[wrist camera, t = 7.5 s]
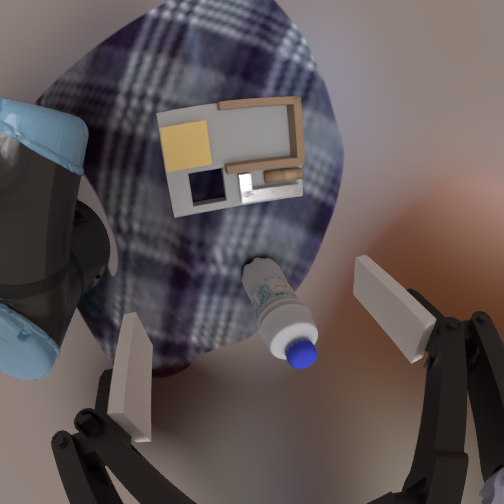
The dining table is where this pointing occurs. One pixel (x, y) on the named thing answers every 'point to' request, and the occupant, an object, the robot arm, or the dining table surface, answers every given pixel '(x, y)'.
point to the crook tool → (264, 189)
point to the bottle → (280, 314)
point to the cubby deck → (239, 146)
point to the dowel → (283, 175)
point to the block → (186, 146)
